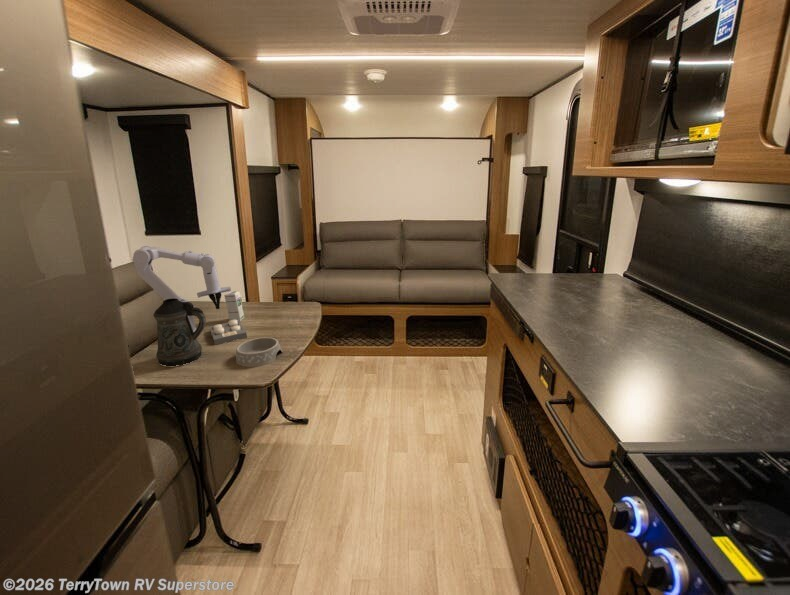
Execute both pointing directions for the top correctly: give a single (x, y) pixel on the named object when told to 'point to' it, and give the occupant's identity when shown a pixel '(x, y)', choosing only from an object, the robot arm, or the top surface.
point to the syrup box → (234, 305)
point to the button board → (228, 334)
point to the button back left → (217, 326)
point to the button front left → (219, 330)
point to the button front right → (235, 328)
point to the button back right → (232, 323)
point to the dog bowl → (257, 352)
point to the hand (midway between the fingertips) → (217, 308)
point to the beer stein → (178, 332)
